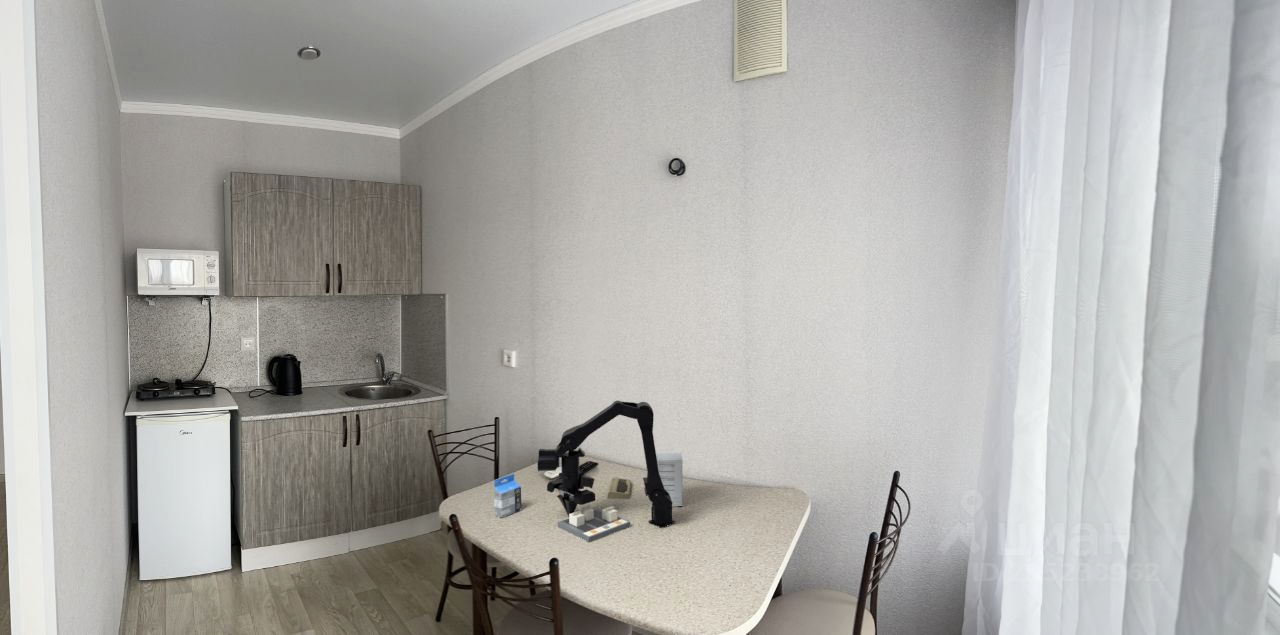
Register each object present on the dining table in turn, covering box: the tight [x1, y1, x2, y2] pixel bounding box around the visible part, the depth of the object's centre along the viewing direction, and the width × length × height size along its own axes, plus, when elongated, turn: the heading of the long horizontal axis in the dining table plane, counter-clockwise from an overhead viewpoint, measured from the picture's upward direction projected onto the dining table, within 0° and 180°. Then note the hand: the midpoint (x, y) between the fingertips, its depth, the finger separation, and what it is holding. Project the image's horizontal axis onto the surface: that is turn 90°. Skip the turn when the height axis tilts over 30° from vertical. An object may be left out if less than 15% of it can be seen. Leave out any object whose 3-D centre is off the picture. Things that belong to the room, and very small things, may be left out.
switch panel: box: [557, 508, 631, 543], centre depth 189 cm, size 16×17×2 cm
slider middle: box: [578, 504, 595, 521], centre depth 192 cm, size 4×3×4 cm
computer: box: [607, 477, 632, 500], centre depth 222 cm, size 16×8×3 cm, turn 178°
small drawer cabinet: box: [656, 452, 684, 507], centre depth 210 cm, size 10×9×17 cm
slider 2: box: [601, 506, 618, 522], centre depth 191 cm, size 4×3×4 cm
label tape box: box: [493, 473, 523, 519], centre depth 200 cm, size 9×4×12 cm, turn 143°
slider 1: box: [568, 510, 584, 527], centre depth 187 cm, size 4×3×4 cm
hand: (570, 517), depth 190 cm, fingers closed
